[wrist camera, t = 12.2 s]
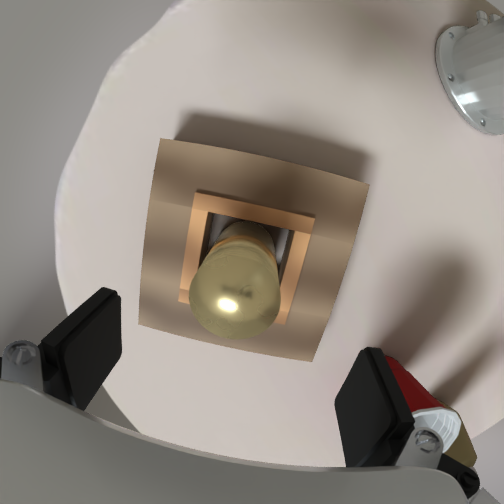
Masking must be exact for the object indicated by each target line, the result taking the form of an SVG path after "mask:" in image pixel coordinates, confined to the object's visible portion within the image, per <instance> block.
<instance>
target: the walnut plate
mask: <svg viewBox="0 0 504 504" xmlns="http://www.w3.org/2000/svg"><path fill="white" fill-rule="evenodd" d="M368 189H369V184H366V183H363V182H360V181H357V180H353V179H350V178H347V177H343V176H340V175H336V174H333V173H329V172H326V171H322V170H318V169H314V168H311V167H307V166H303V165H299V164H295V163H291V162H287V161H282V160H278V159H274V158H269V157H265V156H260V155H256V154H251V153H246V152H241V151H236V150H231V149H226V148H220V147H214V146H209V145H203V144H197V143H190V142H184V141H177V140H170V139H162V138H160V143H159V148H158V153H157V158H156V164H155V169H154V175H153V181H152V187H151V193H150V200H149V207H148V214H147V222H146V230H145V239H144V248H143V258H142V270H141V283H140V299H139V323H138V324H139V325H143V326H146V327H150V328H153V329H157V330H160V331H164V332H168V333H171V334H175V335H179V336H183V337H187V338H191V339H195V340H199V341H203V342H207V343H212V344H216V345H221V346H225V347H230V348H235V349H239V350H244V351H249V352H255V353H260V354H265V355H271V356H277V357H283V358H289V359H295V360H302V361H308V362H312V360H313V358H314V355H315V353H316V351H317V348H318V345H319V343H320V340H321V338H322V335H323V333H324V330H325V327H326V325H327V322H328V319H329V317H330V314H331V311H332V308H333V305H334V303H335V300H336V297H337V294H338V291H339V288H340V285H341V282H342V279H343V276H344V273H345V270H346V267H347V264H348V260H349V257H350V254H351V251H352V247H353V244H354V241H355V237H356V234H357V230H358V227H359V223H360V220H361V216H362V212H363V208H364V205H365V201H366V197H367V193H368ZM214 213H217V214H222V215H226V216H231V217H236V218H240V219H245V220H249V221H254V222H259V223H263V224H267V225H272V226H276V227H281V228H285V229H289V233H288V237H287V241H286V245H285V249H284V253H283V257H282V260H281V264H280V268H279V272H278V278H279V286H280V294H281V305H280V310H279V313H278V315H277V317H276V319H275V321H274V322H273V323H272V325H271V326H270V327H269V328H268V329H266V330H265V331H264V332H262V333H260V334H259V335H256V336H254V337H251V338H247V339H238V340H237V339H227V338H223V337H220V336H217V335H215V334H213V333H211V332H209V331H208V330H207V329H205V328H204V327H203V326H202V325H201V324H200V323H199V322H198V321H197V319H196V318H195V316H194V314H193V312H192V310H191V307H190V303H189V288H190V284H191V282H192V279H193V278H194V276H195V274H196V272H197V271H198V269H199V268H200V266H201V264H202V263H203V261H204V260H205V258H206V252H207V246H208V241H209V235H210V230H211V225H212V219H213V214H214Z"/></svg>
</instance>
